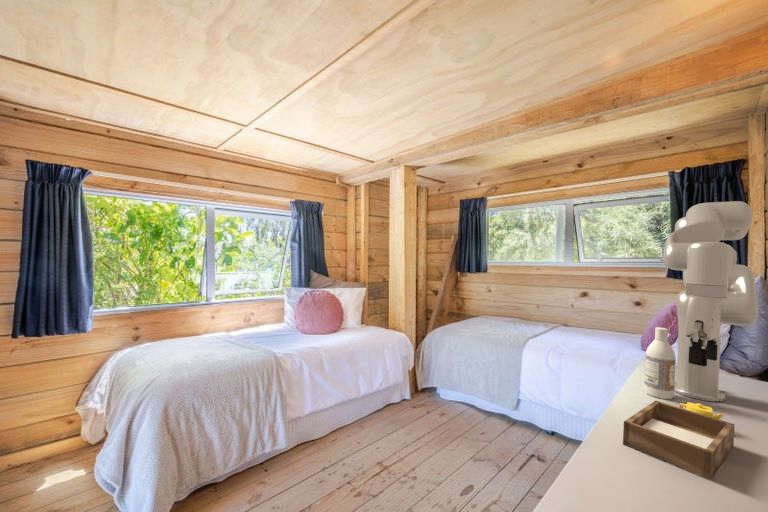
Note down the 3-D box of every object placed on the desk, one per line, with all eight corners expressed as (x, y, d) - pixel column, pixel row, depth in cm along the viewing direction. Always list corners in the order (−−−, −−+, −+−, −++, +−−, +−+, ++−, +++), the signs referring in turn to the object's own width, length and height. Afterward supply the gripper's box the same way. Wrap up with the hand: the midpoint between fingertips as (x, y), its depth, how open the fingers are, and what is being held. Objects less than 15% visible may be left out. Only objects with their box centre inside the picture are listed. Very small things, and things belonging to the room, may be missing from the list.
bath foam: (668, 401, 98) (671, 331, 98) (640, 393, 104) (643, 326, 103) (677, 396, 102) (680, 329, 101) (649, 388, 107) (652, 324, 107)
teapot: (721, 426, 85) (722, 405, 84) (723, 434, 80) (724, 412, 80) (679, 415, 90) (679, 395, 90) (678, 422, 86) (679, 402, 85)
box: (654, 420, 86) (655, 400, 86) (733, 447, 75) (734, 424, 75) (622, 444, 75) (623, 421, 74) (710, 480, 63) (711, 453, 63)
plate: (651, 427, 81) (652, 418, 81) (715, 449, 72) (716, 440, 72) (637, 438, 75) (637, 429, 75) (704, 464, 66) (705, 454, 66)
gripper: (695, 289, 93) (692, 353, 93) (675, 291, 82) (672, 362, 82) (734, 293, 87) (731, 361, 87) (718, 295, 76) (715, 372, 76)
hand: (702, 361), depth 84 cm, fingers open, 9 cm apart
